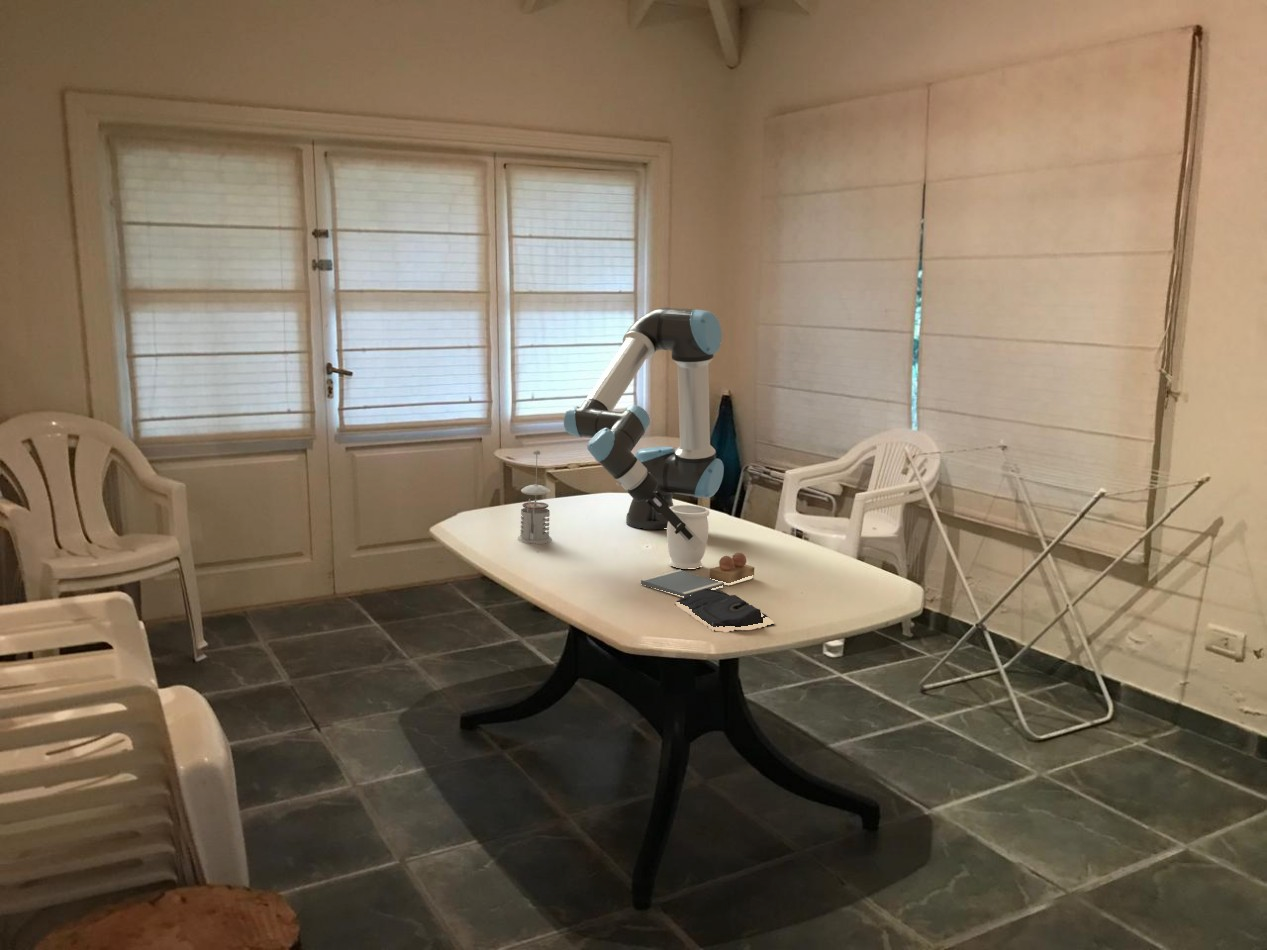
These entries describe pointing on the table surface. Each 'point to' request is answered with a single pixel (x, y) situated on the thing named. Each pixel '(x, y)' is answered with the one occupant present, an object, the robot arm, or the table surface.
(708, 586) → the slate card
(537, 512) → the french press
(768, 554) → the table surface
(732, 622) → the dark flat piece
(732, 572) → the ball rack
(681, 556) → the jar
